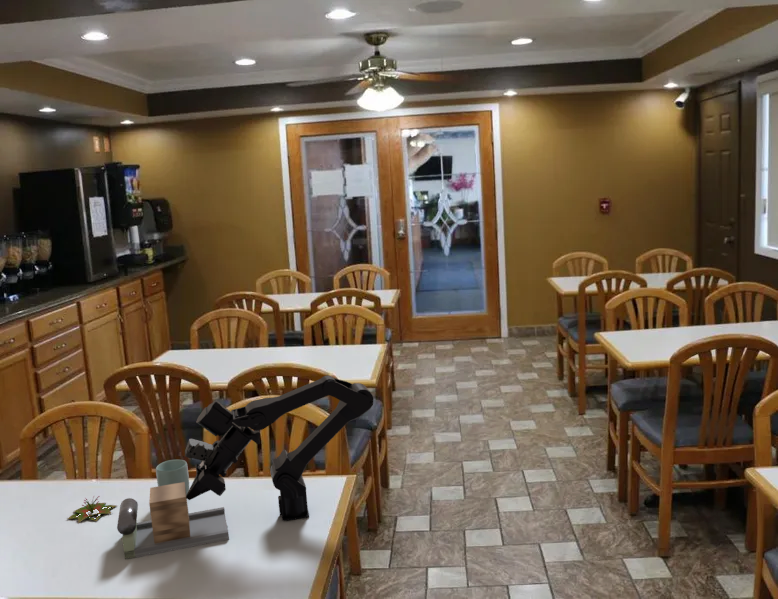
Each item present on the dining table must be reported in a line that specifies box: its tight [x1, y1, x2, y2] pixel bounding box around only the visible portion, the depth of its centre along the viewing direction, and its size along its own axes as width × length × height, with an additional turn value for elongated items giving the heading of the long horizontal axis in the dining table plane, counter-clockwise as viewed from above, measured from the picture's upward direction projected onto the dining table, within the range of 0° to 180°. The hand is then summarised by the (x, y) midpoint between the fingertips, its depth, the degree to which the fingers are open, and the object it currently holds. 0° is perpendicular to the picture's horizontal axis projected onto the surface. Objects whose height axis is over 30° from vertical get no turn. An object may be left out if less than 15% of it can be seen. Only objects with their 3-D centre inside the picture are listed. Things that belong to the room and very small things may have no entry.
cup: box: [155, 459, 190, 495], centre depth 194 cm, size 8×8×10 cm
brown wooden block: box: [148, 482, 190, 544], centre depth 175 cm, size 8×9×10 cm
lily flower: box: [66, 495, 119, 524], centre depth 191 cm, size 12×12×5 cm
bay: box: [116, 497, 230, 560], centre depth 175 cm, size 24×14×9 cm, turn 106°
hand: (187, 498), depth 175 cm, fingers closed, pressing on brown wooden block
